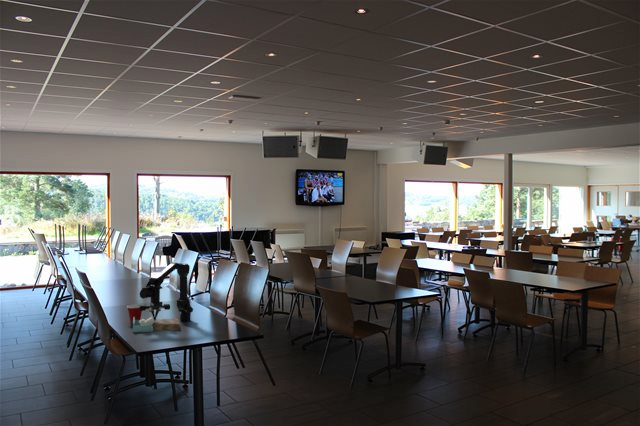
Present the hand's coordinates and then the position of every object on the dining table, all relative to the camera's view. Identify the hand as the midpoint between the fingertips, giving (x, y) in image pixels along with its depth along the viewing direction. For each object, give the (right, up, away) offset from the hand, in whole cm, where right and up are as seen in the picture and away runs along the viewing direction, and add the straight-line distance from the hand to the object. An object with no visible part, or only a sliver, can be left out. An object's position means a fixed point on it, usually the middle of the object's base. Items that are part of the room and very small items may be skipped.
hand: (154, 320), depth 342 cm
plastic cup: (-17, -5, +13) cm, 22 cm away
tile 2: (-2, -2, -1) cm, 3 cm away
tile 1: (-5, -1, -2) cm, 6 cm away
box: (-7, -5, -2) cm, 9 cm away
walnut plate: (+6, -5, +2) cm, 8 cm away
